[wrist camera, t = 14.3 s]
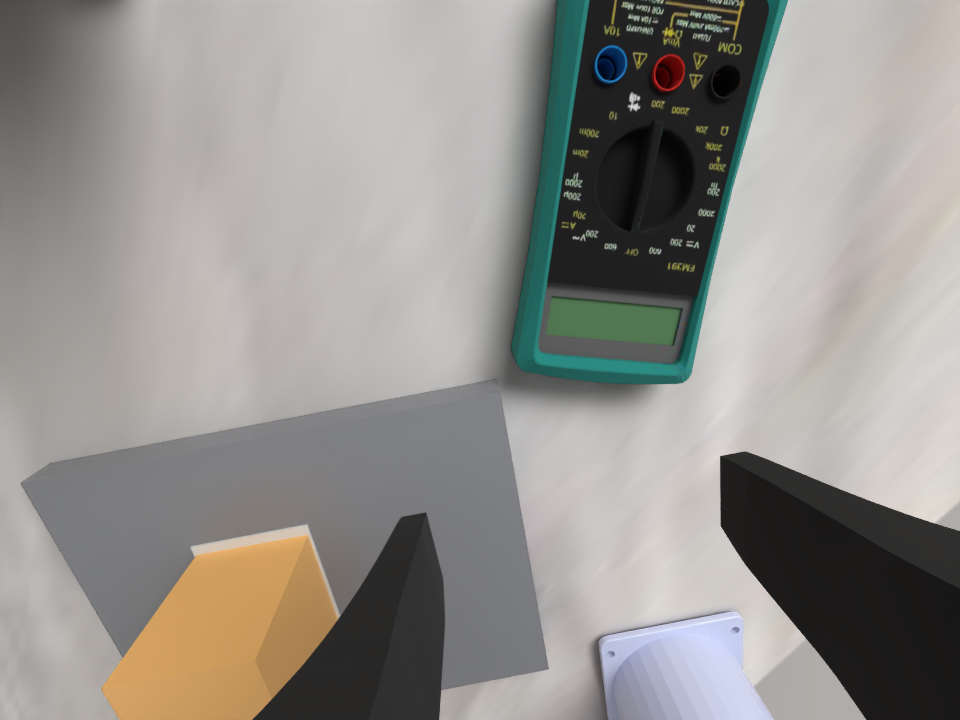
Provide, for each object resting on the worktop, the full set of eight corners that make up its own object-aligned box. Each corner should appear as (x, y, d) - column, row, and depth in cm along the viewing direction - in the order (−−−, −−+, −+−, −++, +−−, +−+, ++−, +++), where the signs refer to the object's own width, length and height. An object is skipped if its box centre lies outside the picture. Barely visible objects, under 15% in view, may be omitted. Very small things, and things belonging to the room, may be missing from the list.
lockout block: (337, 619, 22) (300, 761, 17) (234, 638, 22) (161, 787, 17) (308, 534, 21) (255, 660, 15) (196, 555, 21) (100, 689, 15)
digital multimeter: (757, -14, 17) (818, -58, 14) (663, 370, 21) (695, 395, 19) (559, -46, 16) (582, -98, 13) (506, 357, 21) (515, 381, 18)
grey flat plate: (543, 643, 26) (552, 684, 24) (187, 711, 26) (163, 759, 23) (496, 379, 21) (502, 400, 18) (49, 463, 20) (2, 494, 18)
